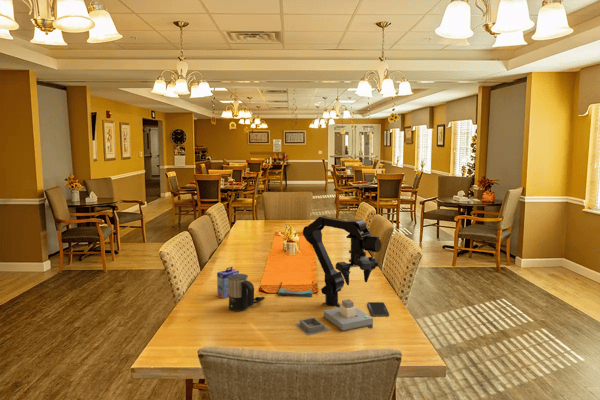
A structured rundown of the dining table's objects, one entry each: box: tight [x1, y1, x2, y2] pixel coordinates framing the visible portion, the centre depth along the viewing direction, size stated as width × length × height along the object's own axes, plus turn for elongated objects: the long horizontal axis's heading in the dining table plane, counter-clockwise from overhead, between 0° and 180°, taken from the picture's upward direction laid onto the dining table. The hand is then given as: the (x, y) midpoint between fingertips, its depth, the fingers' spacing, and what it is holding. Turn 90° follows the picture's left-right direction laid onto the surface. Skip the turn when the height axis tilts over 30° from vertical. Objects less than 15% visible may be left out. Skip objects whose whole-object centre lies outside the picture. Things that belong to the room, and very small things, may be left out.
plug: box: [339, 299, 357, 319], centre depth 187 cm, size 6×4×8 cm, turn 25°
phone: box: [366, 301, 390, 317], centre depth 202 cm, size 8×1×15 cm
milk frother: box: [227, 273, 265, 312], centre depth 207 cm, size 14×16×15 cm
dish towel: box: [277, 283, 314, 298], centre depth 231 cm, size 17×23×2 cm
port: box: [323, 306, 374, 332], centre depth 188 cm, size 16×14×4 cm
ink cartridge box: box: [216, 266, 240, 300], centre depth 222 cm, size 10×6×14 cm, turn 137°
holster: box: [294, 316, 330, 336], centre depth 182 cm, size 12×10×3 cm
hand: (356, 283), depth 198 cm, fingers open, 9 cm apart
